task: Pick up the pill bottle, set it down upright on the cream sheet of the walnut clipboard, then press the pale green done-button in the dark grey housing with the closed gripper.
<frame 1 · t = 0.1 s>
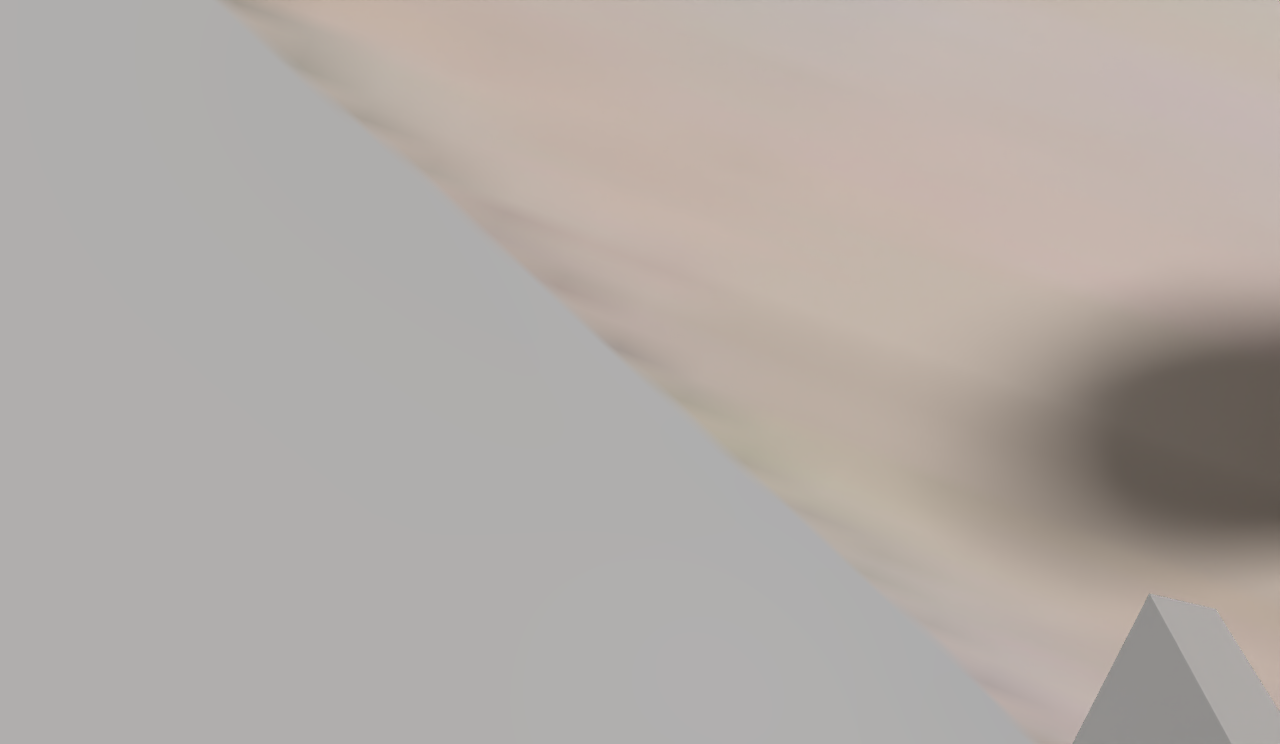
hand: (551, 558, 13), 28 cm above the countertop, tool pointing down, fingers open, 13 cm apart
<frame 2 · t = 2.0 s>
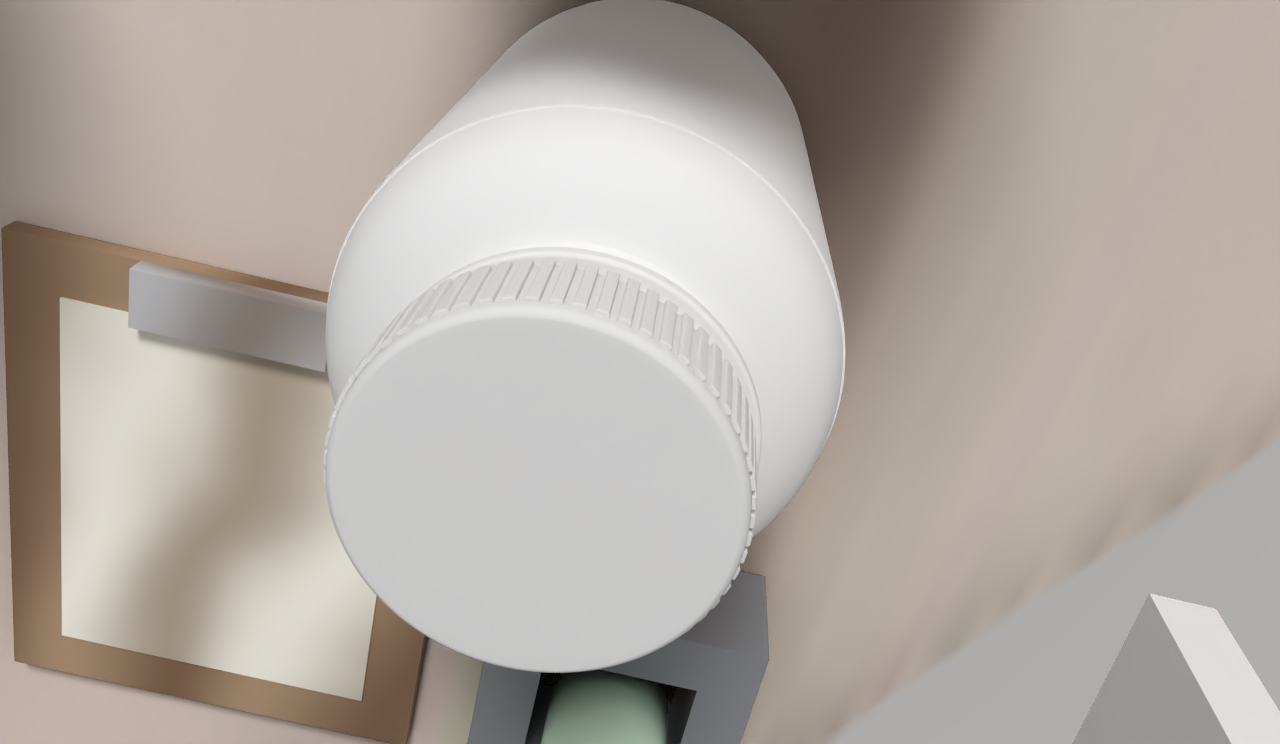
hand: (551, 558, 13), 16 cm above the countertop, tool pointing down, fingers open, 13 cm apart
button housing: (617, 646, 33), on the countertop
clipboard: (232, 502, 32), on the countertop
pill bottle: (636, 166, 27), on the countertop
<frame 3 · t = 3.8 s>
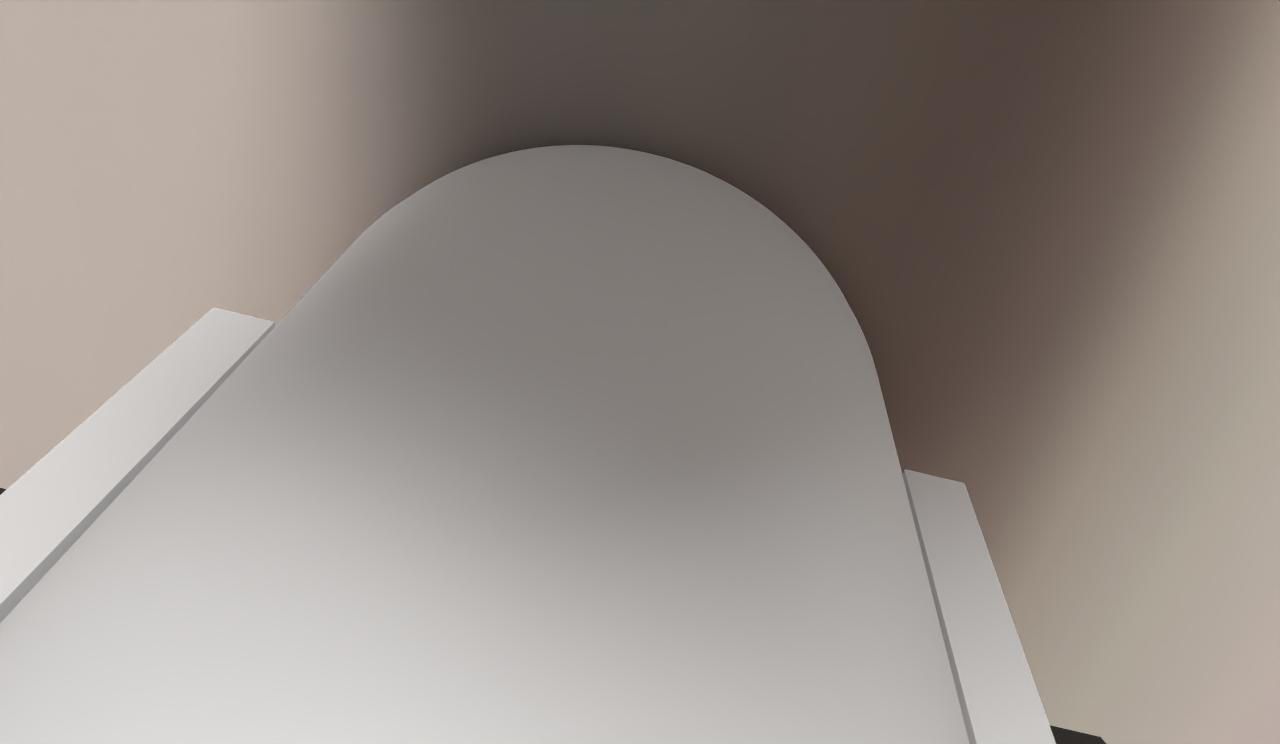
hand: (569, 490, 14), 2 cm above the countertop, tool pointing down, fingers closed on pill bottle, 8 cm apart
pill bottle: (594, 403, 16), on the countertop, touching gripper
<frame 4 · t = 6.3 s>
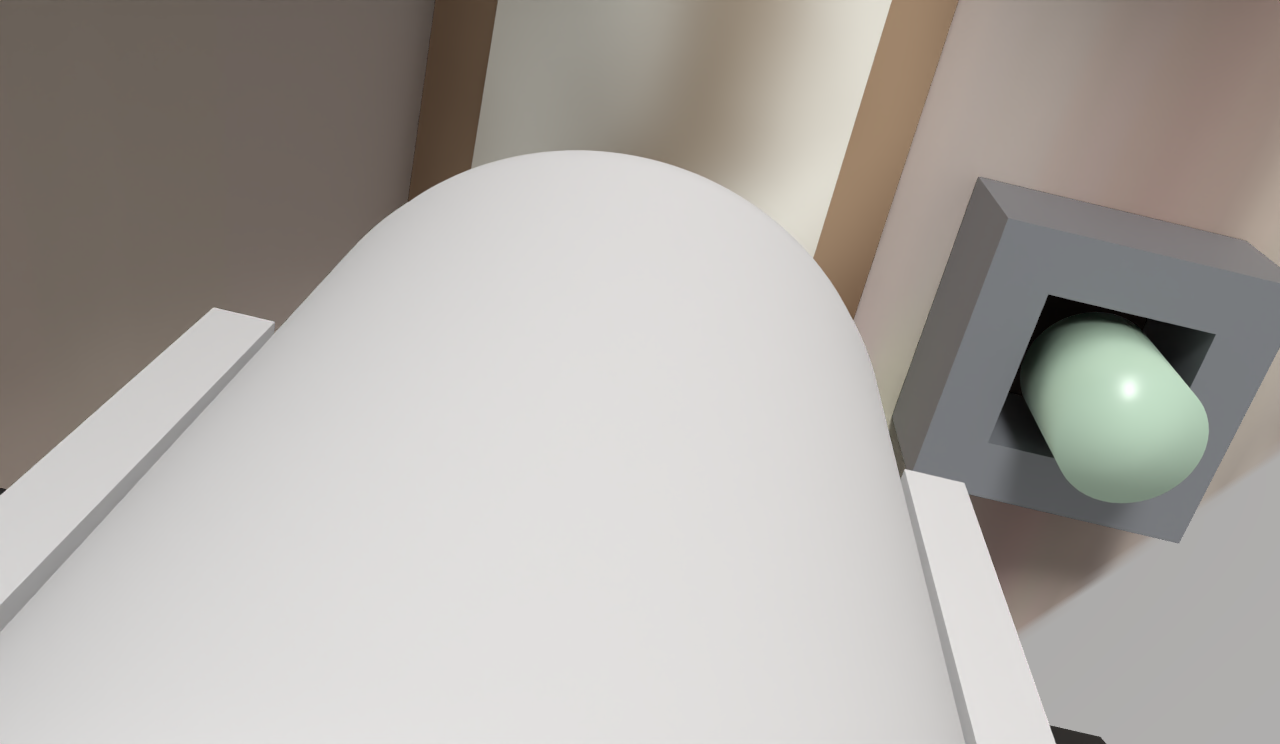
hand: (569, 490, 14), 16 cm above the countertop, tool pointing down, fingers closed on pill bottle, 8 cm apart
button housing: (1060, 332, 30), on the countertop
clipboard: (655, 159, 29), on the countertop
pill bottle: (593, 407, 16), point 14 cm above the countertop, touching gripper
done button: (1107, 404, 26), point 4 cm above the countertop, slide at 0.0 cm
when the fingers open (4 cm above the countertop, at t = 8.8 s): pill bottle drops 1 cm, resting on clipboard.
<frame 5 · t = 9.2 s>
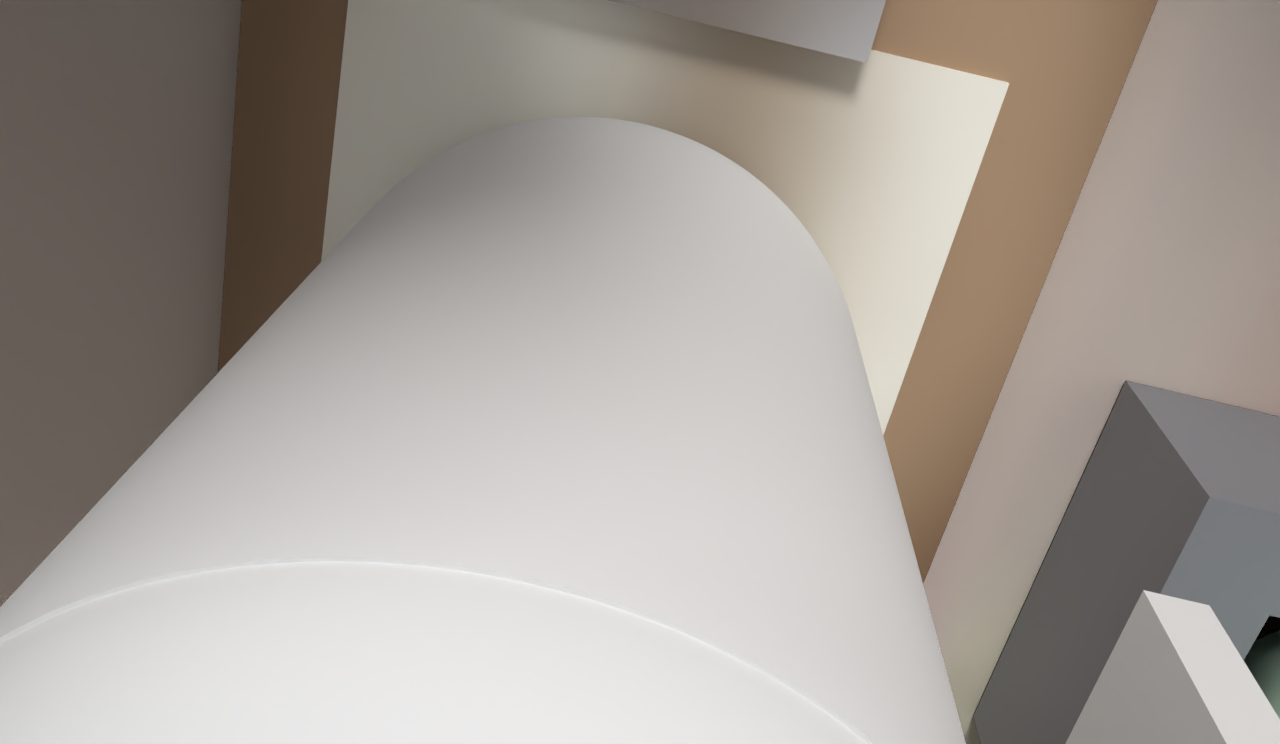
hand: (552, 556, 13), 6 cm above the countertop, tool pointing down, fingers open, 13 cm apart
button housing: (1242, 607, 19), on the countertop
clipboard: (606, 348, 18), on the countertop
pill bottle: (593, 360, 18), point 1 cm above the countertop, touching clipboard
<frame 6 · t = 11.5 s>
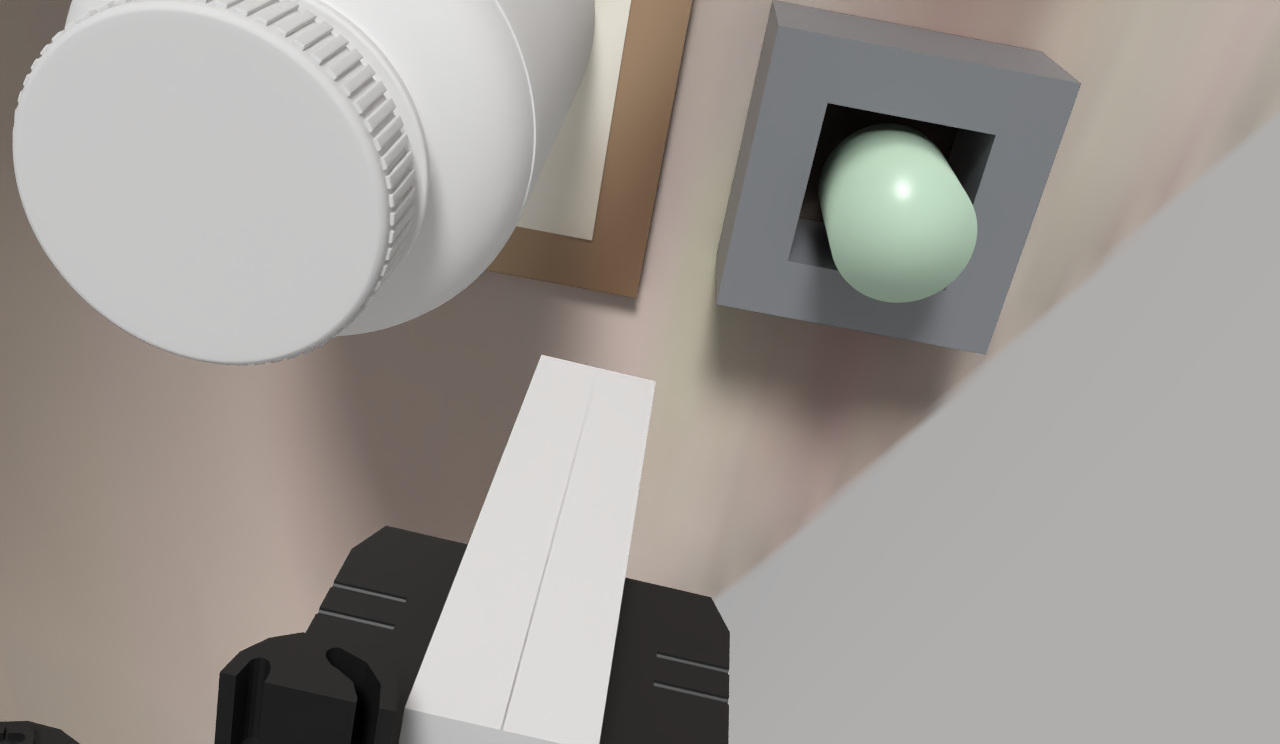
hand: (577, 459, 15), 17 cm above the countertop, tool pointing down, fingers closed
button housing: (871, 158, 30), on the countertop
clipboard: (455, 1, 29), on the countertop
pill bottle: (444, 3, 29), point 1 cm above the countertop, touching clipboard
done button: (892, 210, 27), point 4 cm above the countertop, slide at 0.0 cm
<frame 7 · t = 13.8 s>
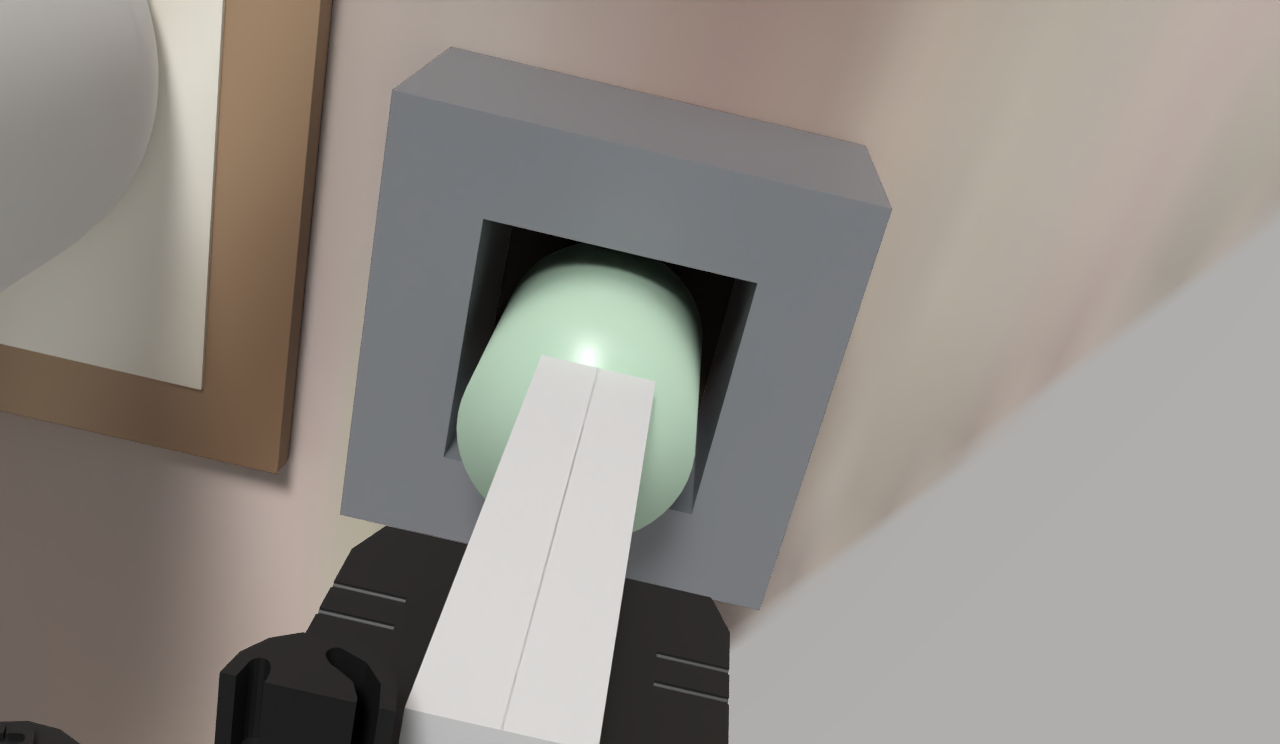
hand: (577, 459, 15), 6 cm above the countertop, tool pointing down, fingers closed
button housing: (615, 290, 20), on the countertop
done button: (590, 383, 17), point 4 cm above the countertop, slide at 0.4 cm, touching gripper
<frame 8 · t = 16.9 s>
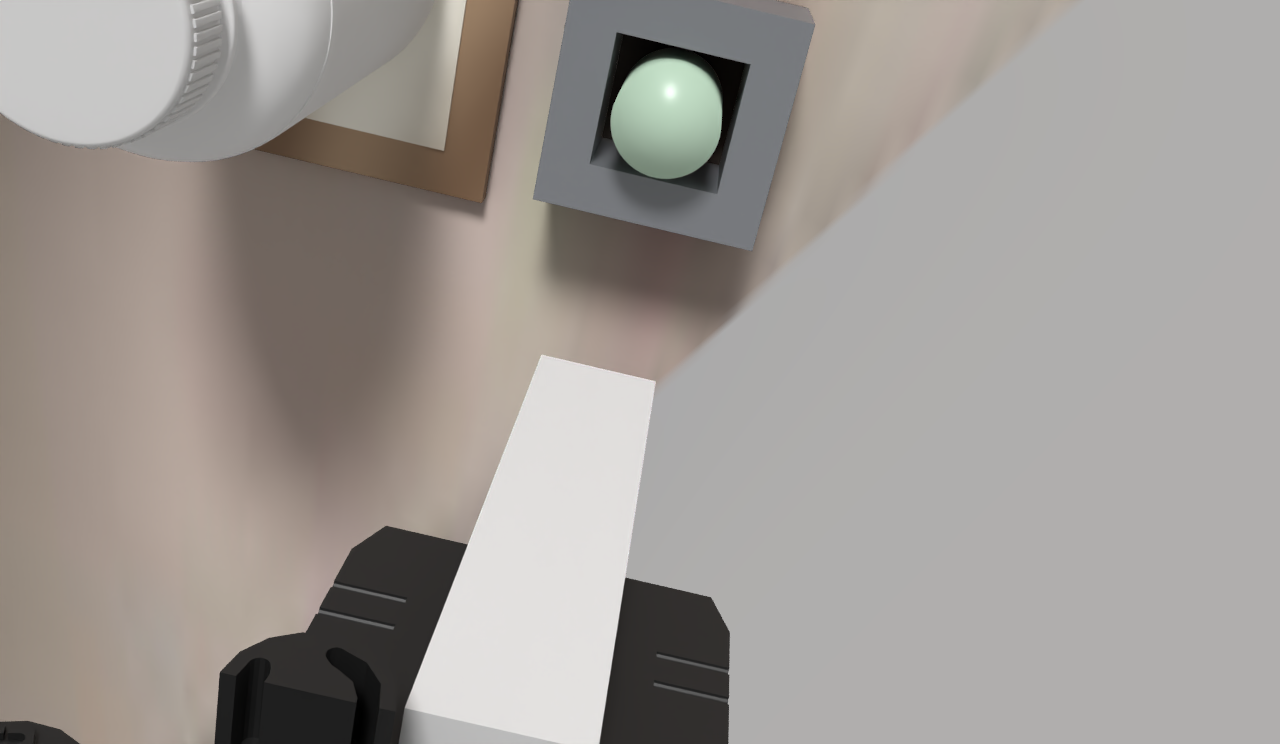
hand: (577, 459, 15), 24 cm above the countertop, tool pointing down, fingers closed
button housing: (674, 92, 37), on the countertop
done button: (669, 111, 34), point 3 cm above the countertop, slide at 1.3 cm
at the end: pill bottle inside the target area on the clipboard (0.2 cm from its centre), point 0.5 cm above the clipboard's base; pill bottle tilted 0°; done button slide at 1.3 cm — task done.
